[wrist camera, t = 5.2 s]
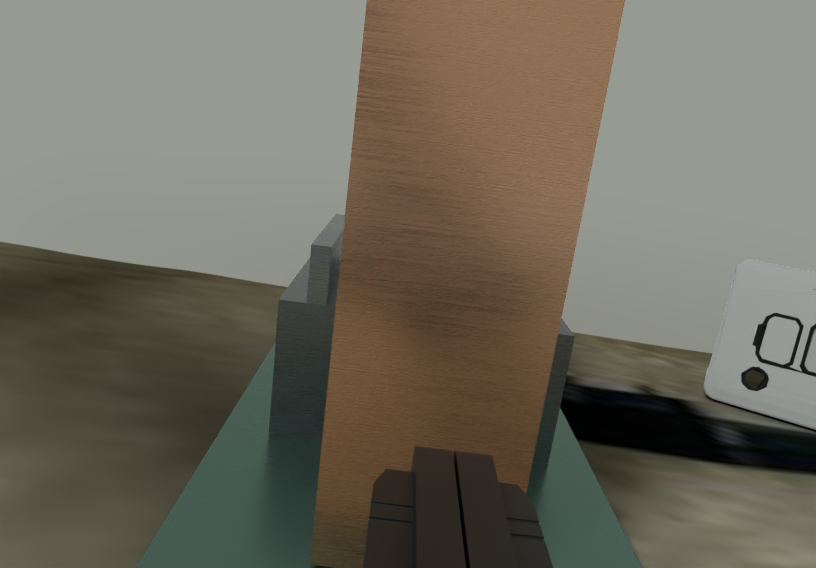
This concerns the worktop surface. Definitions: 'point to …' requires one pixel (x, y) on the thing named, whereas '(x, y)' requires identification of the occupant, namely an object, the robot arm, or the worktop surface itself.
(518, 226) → the upright wooden plank
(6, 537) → the worktop surface
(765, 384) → the electrical switch
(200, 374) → the worktop surface
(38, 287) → the worktop surface
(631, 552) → the base
